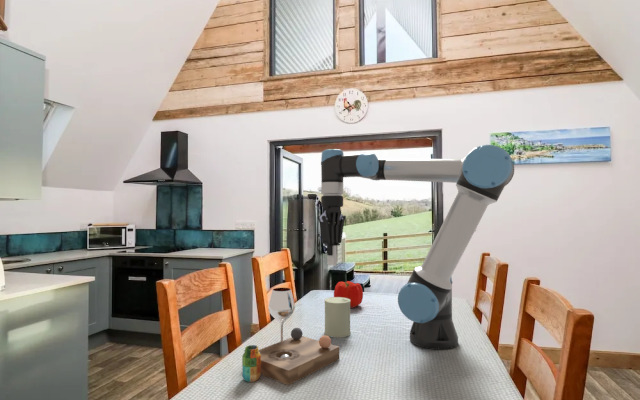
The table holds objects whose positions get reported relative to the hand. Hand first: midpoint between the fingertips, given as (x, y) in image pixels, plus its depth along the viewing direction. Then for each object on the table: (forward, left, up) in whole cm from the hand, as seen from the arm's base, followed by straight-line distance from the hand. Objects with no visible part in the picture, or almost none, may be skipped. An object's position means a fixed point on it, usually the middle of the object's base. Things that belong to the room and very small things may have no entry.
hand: (332, 264), depth 128 cm
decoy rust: (-10, +17, -19) cm, 28 cm away
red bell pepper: (+20, -38, -25) cm, 49 cm away
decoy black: (+1, +17, -19) cm, 26 cm away
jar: (-3, +38, -25) cm, 45 cm away
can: (+1, -5, -25) cm, 25 cm away
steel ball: (-5, +28, -23) cm, 36 cm away
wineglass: (+7, +17, -25) cm, 31 cm away
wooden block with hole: (-5, +24, -24) cm, 35 cm away
